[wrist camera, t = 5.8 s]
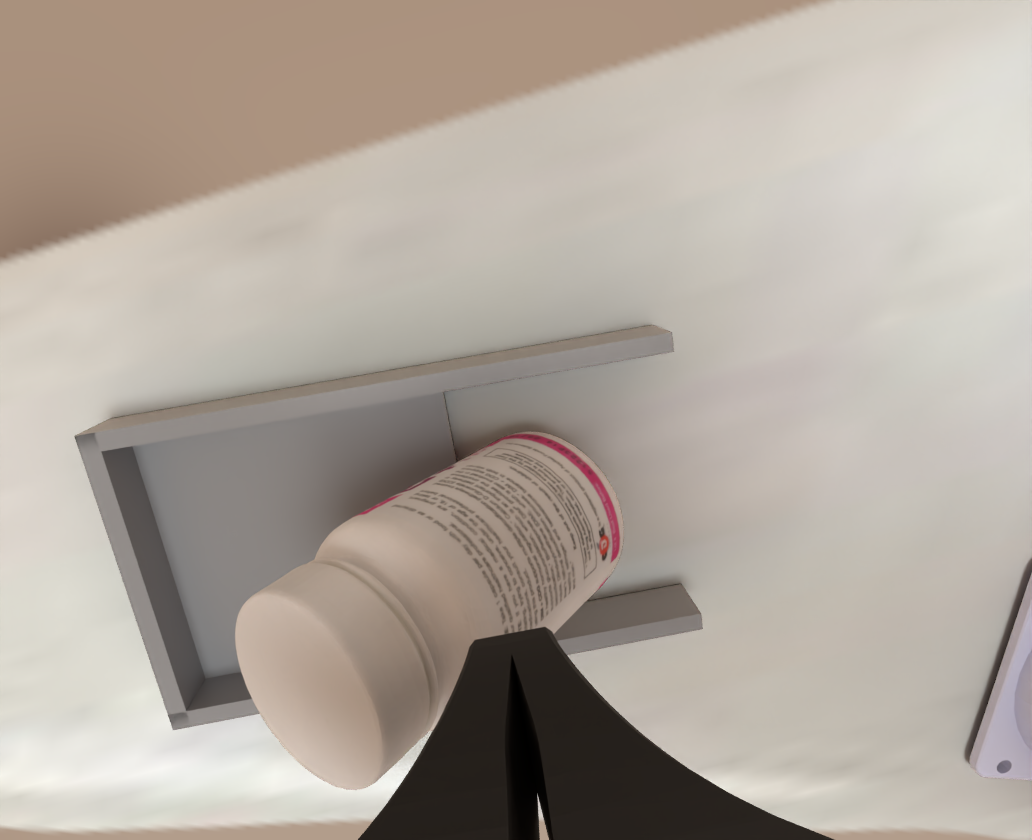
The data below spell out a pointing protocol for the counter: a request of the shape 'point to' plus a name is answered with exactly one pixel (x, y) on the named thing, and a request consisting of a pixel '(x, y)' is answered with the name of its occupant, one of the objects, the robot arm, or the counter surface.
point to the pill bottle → (423, 600)
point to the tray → (303, 503)
